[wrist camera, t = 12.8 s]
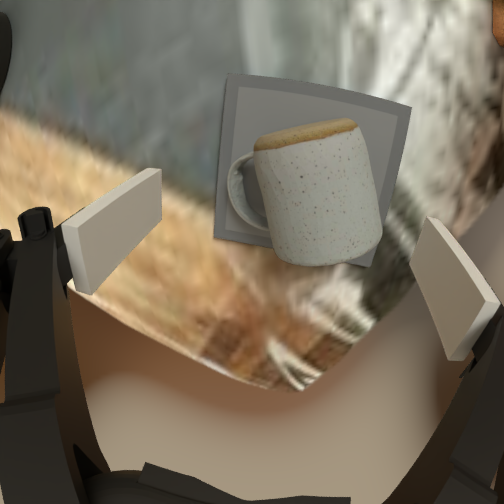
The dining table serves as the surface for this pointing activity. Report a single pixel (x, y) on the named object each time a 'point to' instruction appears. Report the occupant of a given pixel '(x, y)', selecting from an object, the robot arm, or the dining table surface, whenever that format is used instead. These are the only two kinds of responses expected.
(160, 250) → the dining table surface
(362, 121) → the trivet
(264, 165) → the ceramic mug
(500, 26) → the whiskey bottle
